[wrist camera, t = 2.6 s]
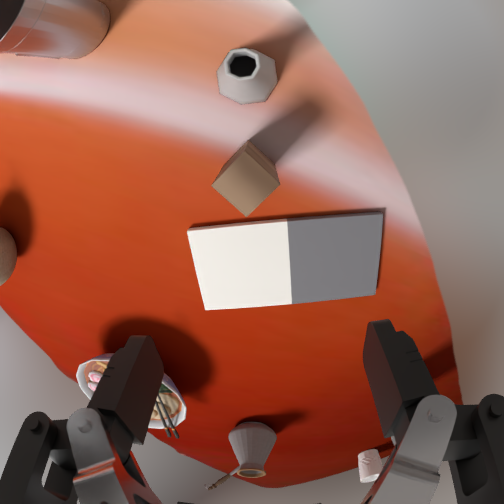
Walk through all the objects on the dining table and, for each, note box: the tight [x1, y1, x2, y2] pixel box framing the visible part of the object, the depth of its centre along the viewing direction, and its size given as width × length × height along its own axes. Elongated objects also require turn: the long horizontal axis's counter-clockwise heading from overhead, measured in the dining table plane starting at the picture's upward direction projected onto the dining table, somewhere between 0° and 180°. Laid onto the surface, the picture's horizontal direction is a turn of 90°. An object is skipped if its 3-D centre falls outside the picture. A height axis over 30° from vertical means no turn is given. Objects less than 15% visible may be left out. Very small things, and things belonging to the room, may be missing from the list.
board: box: [187, 212, 383, 310], centre depth 41 cm, size 26×13×1 cm, turn 96°
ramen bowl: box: [76, 353, 187, 438], centre depth 50 cm, size 25×23×8 cm
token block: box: [212, 140, 280, 217], centre depth 31 cm, size 4×4×10 cm
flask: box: [217, 48, 278, 105], centre depth 26 cm, size 7×7×10 cm
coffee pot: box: [205, 422, 277, 490], centre depth 58 cm, size 21×12×15 cm, turn 135°
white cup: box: [358, 449, 383, 482], centre depth 69 cm, size 8×8×10 cm
